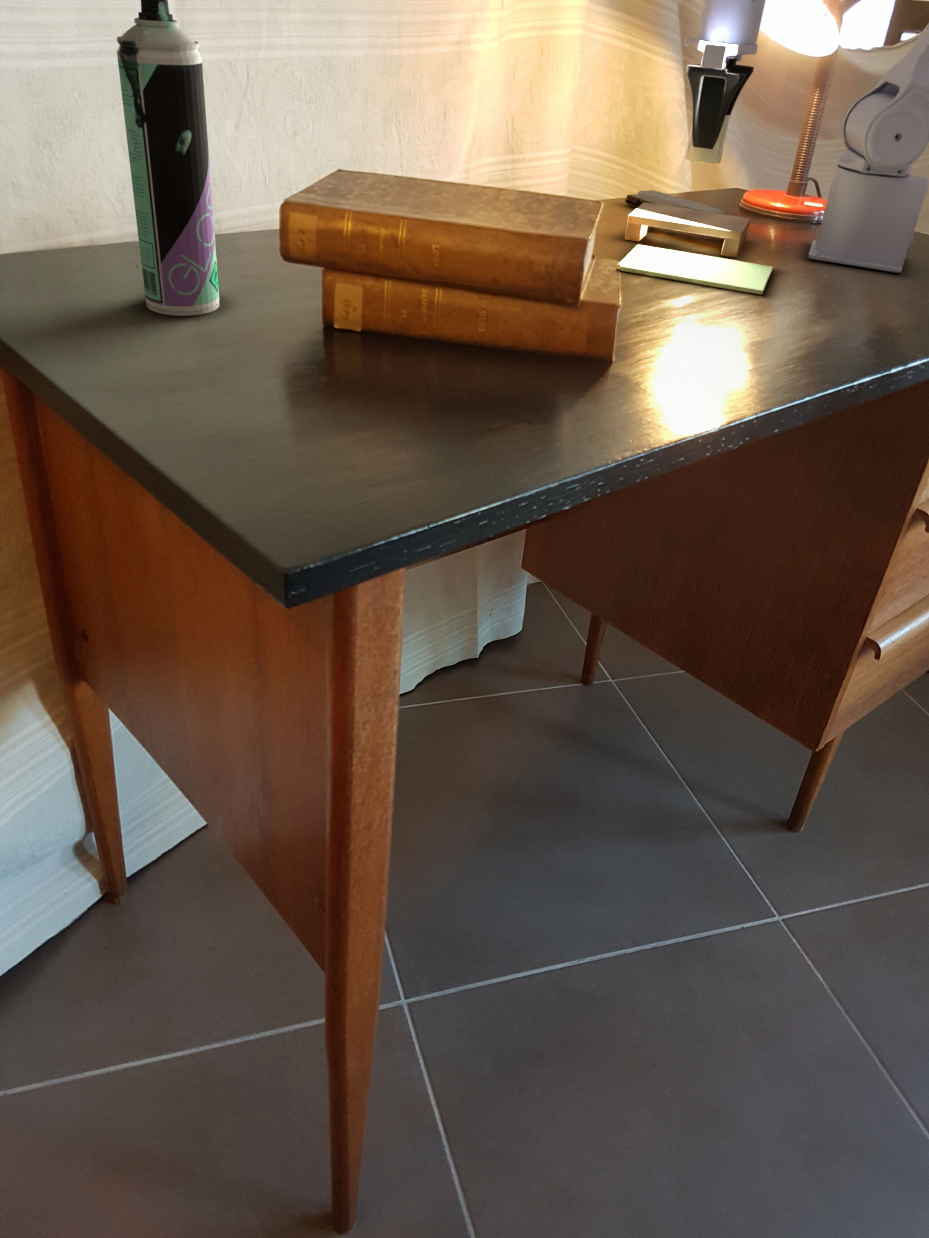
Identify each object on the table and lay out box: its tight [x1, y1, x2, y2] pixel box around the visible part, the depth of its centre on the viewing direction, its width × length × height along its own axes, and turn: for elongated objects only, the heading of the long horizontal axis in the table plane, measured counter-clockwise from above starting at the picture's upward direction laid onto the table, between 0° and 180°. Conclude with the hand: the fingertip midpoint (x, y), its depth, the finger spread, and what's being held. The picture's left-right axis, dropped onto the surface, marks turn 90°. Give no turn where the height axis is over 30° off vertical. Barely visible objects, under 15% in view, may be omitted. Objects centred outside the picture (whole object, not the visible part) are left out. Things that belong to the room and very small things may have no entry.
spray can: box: [116, 0, 220, 317], centre depth 68 cm, size 6×6×20 cm
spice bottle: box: [685, 113, 731, 165], centre depth 97 cm, size 4×4×7 cm
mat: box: [618, 244, 774, 296], centre depth 94 cm, size 14×10×1 cm
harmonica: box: [624, 189, 724, 214], centre depth 113 cm, size 15×3×2 cm, turn 36°
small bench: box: [624, 202, 751, 258], centre depth 104 cm, size 12×8×2 cm, turn 69°
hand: (705, 145), depth 98 cm, fingers closed on spice bottle, 3 cm apart
